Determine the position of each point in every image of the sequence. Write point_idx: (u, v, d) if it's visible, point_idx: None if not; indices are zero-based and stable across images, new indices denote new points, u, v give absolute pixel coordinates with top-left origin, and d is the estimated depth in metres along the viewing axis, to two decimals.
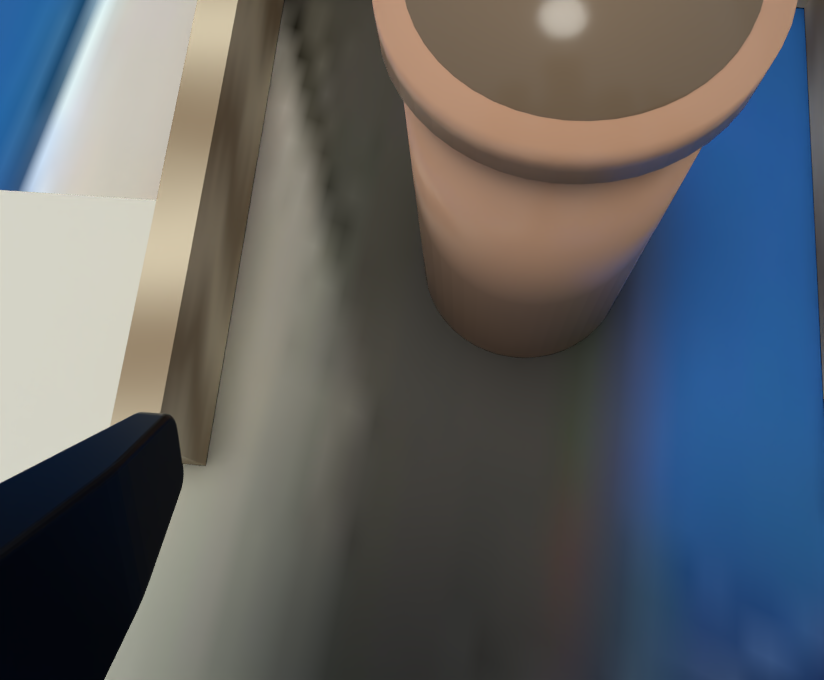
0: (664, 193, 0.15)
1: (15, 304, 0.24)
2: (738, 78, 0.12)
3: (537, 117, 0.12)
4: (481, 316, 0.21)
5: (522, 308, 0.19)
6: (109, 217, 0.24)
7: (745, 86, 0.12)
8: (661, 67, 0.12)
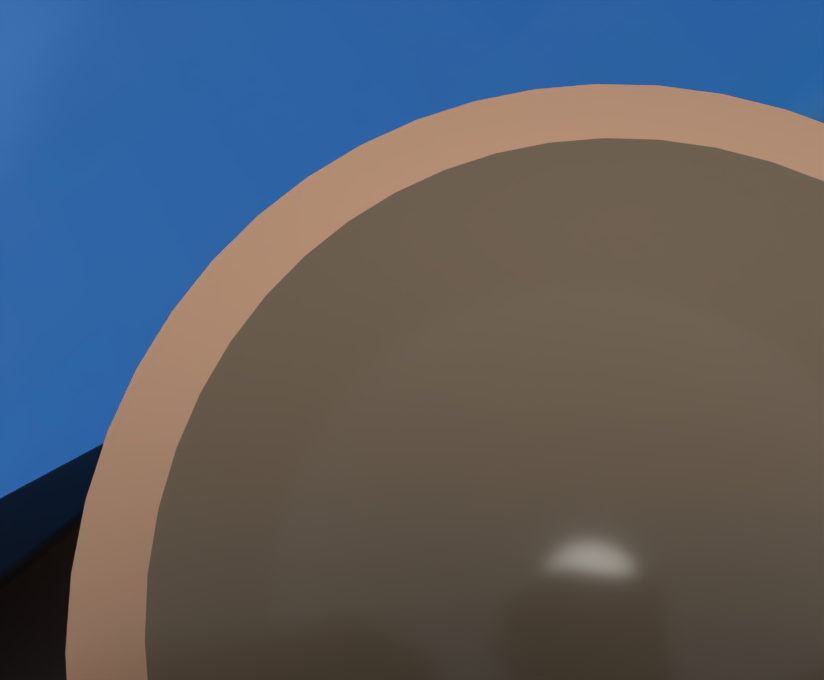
0: None
1: None
2: None
3: None
4: None
5: None
6: None
7: None
8: None
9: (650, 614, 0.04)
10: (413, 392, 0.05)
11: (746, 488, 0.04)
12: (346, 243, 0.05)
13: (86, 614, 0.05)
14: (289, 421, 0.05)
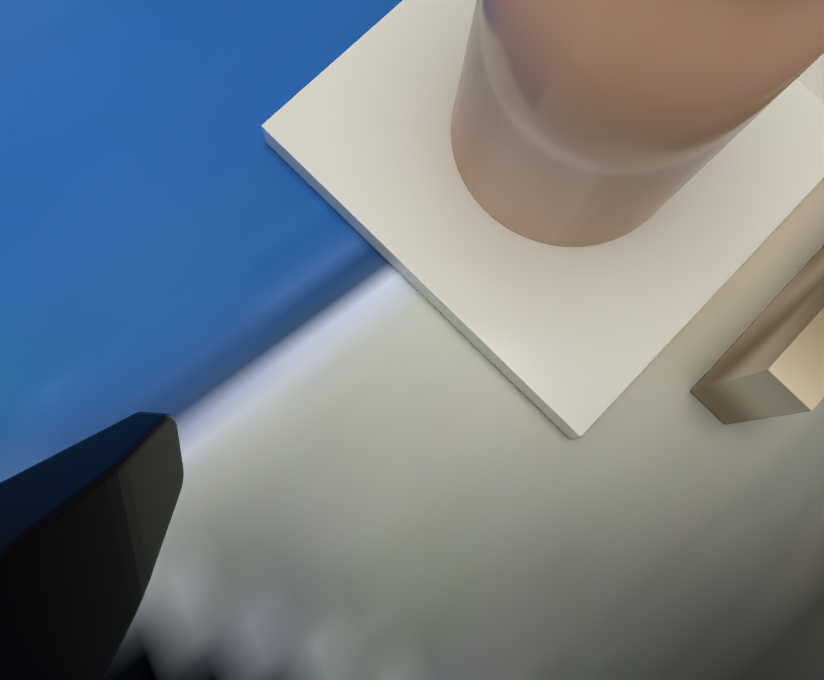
0: None
1: None
2: None
3: None
4: (521, 177, 0.17)
5: (583, 170, 0.15)
6: (804, 117, 0.21)
7: None
8: None
9: None
10: None
11: None
12: None
13: None
14: None
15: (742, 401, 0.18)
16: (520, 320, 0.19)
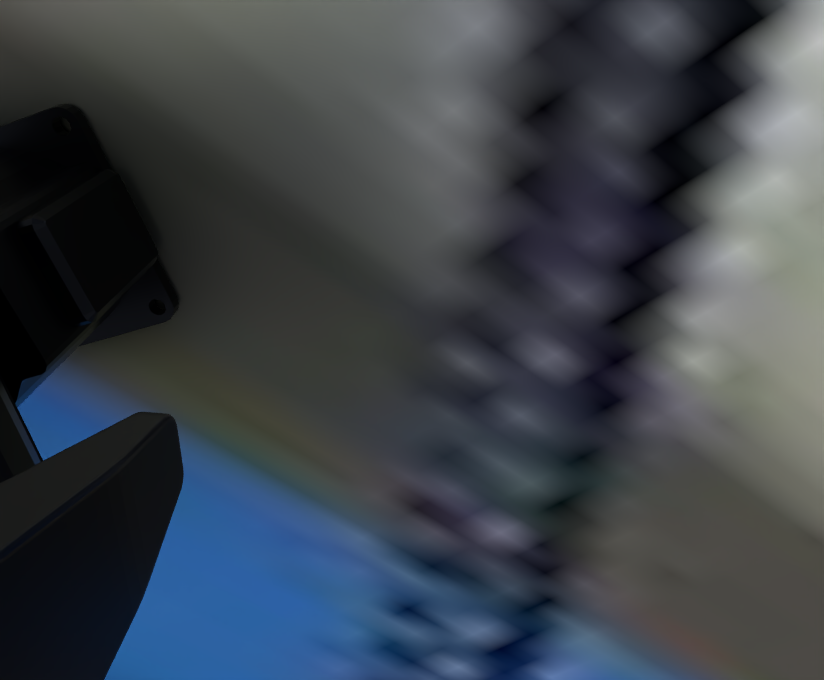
0: None
1: None
2: None
3: None
4: None
5: None
6: None
7: None
8: None
9: None
10: None
11: None
12: None
13: None
14: None
15: None
16: None
